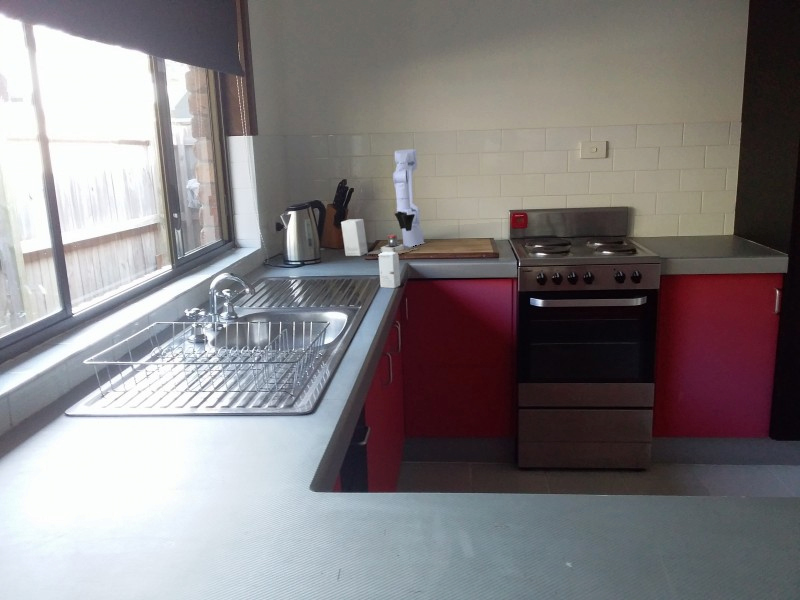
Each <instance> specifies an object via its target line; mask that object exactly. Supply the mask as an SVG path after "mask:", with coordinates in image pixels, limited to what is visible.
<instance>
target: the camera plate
mask: <svg viewBox="0 0 800 600" xmlns="http://www.w3.org/2000/svg"><path fill="white" fill-rule="evenodd" d="M414 248H418V249H419V246H414V247H413V246H411V245H410V246H405V245H402V242H399V241H398V246H397V247H389V244H386V245H383V246H380V249H377V250H373V251H370V252H368V253H367V254H366V255H367V256H368V254H376V253H380V252H397V251H401V250H410V249H414Z"/></svg>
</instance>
